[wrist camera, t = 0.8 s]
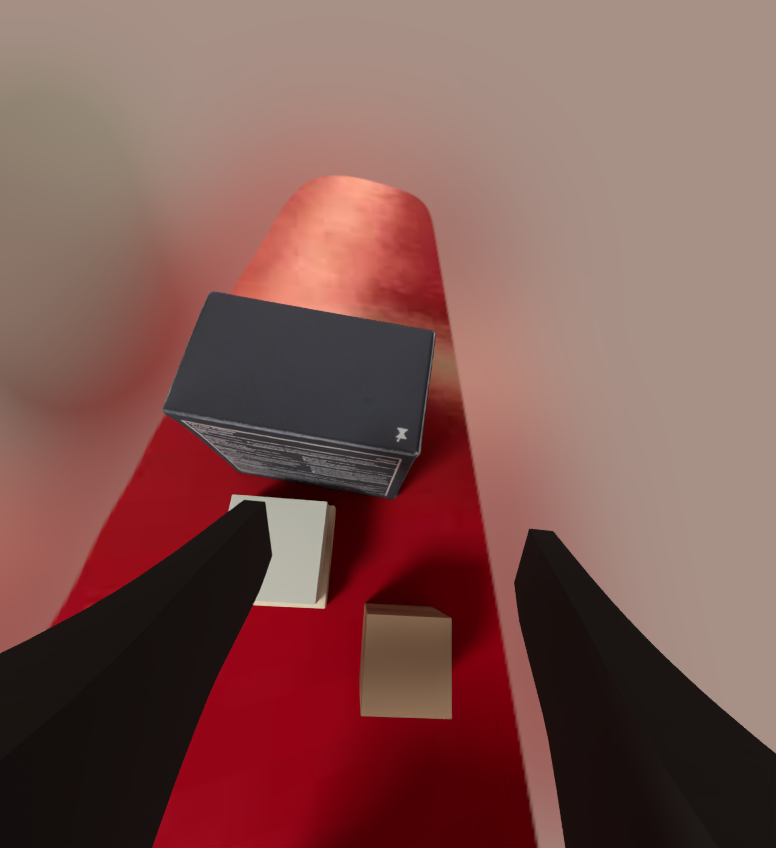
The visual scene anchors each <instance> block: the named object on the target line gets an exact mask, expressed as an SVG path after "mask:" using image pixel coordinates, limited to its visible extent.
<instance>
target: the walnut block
mask: <svg viewBox="0 0 776 848" xmlns="http://www.w3.org/2000/svg"><path fill="white" fill-rule="evenodd" d="M359 686H360V708H361V716H375V717H405V718H434V719H452V618H450V617H449V616H447V615H445V614H444V613H442V612H440V611H438V610H437V609H435V608H433V607H430V606H411V605H391V604H372V603H365V606H364V621H363V636H362V650H361V665H360V680H359Z"/></svg>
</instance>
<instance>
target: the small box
mask: <svg viewBox="0 0 776 848" xmlns="http://www.w3.org/2000/svg"><path fill="white" fill-rule="evenodd" d="M435 338H436V334H435V332H434V331H432V330H425V329H420V328H414V327H408V326H403V325H398V324H392V323H386V322H380V321H374V320H369V319H363V318H357V317H352V316H346V315H341V314H335V313H329V312H324V311H318V310H313V309H307V308H302V307H296V306H291V305H285V304H280V303H274V302H268V301H263V300H258V299H252V298H247V297H241V296H236V295H231V294H226V293H220V292H214V291H213V292H210V293H209V295H208V297H207V299H206V301H205V303H204V305H203V308H202V310H201V313H200V315H199V318H198V320H197V322H196V326H195V328H194V330H193V333H192V335H191V338H190V340H189V342H188V345H187V347H186V350H185V353H184V356H183V358H182V360H181V363H180V365H179V368H178V370H177V373H176V376H175V378H174V381H173V383H172V386H171V388H170V391H169V393H168V396H167V398H166V401H165V404H164V406H163V412H164V413H165V414H166V415H167V416H169V417H170V418H172V419H173V420H176V421H177V422H178V423H180V424H181V425H182V426H184V427H186V428H187V429H188V430H189V431H191V432H192V433H193V434H195V435H196V436H197V437H198V438H200V439H201V441H202V442H204V443H205V444H206V445H208V446H209V447H210V448H211V449H212V450H214V451H215V452H216V453H217V454H218V455H219V456H221V457H222V458H223V459H224V460H225V461H227V462H228V463H229V464H230V465H231V466H232V467H233V468H234V469H235V470H236V471H237V472H239V473H245V474H250V475H255V476H261V477H266V478H272V479H278V480H283V481H287V482H295V483H300V484H306V485H312V486H318V487H323V488H328V489H331V490H339V491H346V492H352V493H357V494H362V495H369V496H376V497H382V498H388V499H392V500H393V499H394V498H396V497H397V496H398V495H399V492H398V491H399V489H400V487H401V486H402V484H403V482H404V480H405V478H406V476H407V474H408V472H409V470H410V469H411V467H412V465H413V463H414V461H415V459H416V458H417V457H418V456H419V455H420V453H421V448H422V437H423V429H424V422H425V414H426V407H427V398H428V390H429V383H430V377H431V369H432V360H433V353H434V346H435Z"/></svg>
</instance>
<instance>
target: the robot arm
mask: <svg viewBox="0 0 776 848" xmlns="http://www.w3.org/2000/svg"><path fill="white" fill-rule="evenodd" d="M271 558H272V548H271V541H270V533H269V526H268V518H267V510H266V503H265V502H263V501H253V500H243V501H242V502H240V503H239V504H238V505H236V506H235V507H234V508H232V509H231V510H230V511H228V512H227V513H226V514H224V515H223V516H222V517H221V518H219V519H218V520H217V521H215V522H214V523H213V524H211V525H210V526H209V527H208V528H206V529H205V530H204V531H202V532H201V533H200V534H198V535H197V536H196V537H194V538H193V539H192V540H190V541H189V542H188V543H186V544H185V545H184V546H182V547H181V548H180V549H178V550H177V551H175V552H174V553H172V554H171V555H169V556H168V557H167V558H165V559H164V560H162V561H161V562H159V563H158V564H156V565H155V566H154V567H152V568H151V569H149V570H148V571H146V572H145V573H143V574H142V575H140V576H139V577H137V578H136V579H134V580H133V581H131V582H130V583H128V584H127V585H125V586H123V587H122V588H120V589H119V590H117V591H115V592H114V593H112V594H110V595H109V596H107V597H105V598H104V599H102V600H100V601H98V602H97V603H95V604H93V605H92V606H90V607H88V608H86V609H85V610H83V611H81V612H79V613H78V614H76V615H74V616H72V617H70V618H68V619H66V620H64V621H62V622H61V623H59V624H57V625H55V626H53V627H51V628H49V629H47V630H46V631H44V632H42V633H40V634H38V635H36V636H34V637H32V638H31V639H29V640H27V641H25V642H23V643H21V644H19V645H17V646H14V647H12V648H10V649H8V650H6V651H4V652H2V653H0V848H152V847H153V843H154V841H155V838H156V835H157V832H158V829H159V827H160V824H161V821H162V818H163V815H164V812H165V810H166V807H167V804H168V801H169V798H170V795H171V793H172V790H173V787H174V784H175V781H176V779H177V776H178V774H179V771H180V768H181V766H182V763H183V760H184V758H185V755H186V752H187V750H188V747H189V744H190V742H191V739H192V736H193V734H194V731H195V729H196V726H197V724H198V721H199V719H200V716H201V714H202V711H203V709H204V706H205V704H206V701H207V699H208V696H209V694H210V691H211V689H212V687H213V685H214V682H215V680H216V678H217V676H218V674H219V672H220V670H221V668H222V666H223V664H224V662H225V660H226V658H227V656H228V654H229V652H230V650H231V648H232V646H233V644H234V642H235V640H236V638H237V636H238V634H239V632H240V630H241V628H242V626H243V624H244V622H245V620H246V618H247V616H248V614H249V612H250V610H251V608H252V606H253V604H254V602H255V600H256V598H257V596H258V594H259V591H260V589H261V586H262V584H263V581H264V578H265V576H266V573H267V570H268V567H269V564H270V561H271ZM514 585H515V592H516V601H517V608H518V615H519V622H520V626H521V630H522V634H523V638H524V642H525V646H526V650H527V654H528V658H529V662H530V666H531V670H532V674H533V678H534V681H535V685H536V689H537V693H538V697H539V701H540V705H541V709H542V713H543V717H544V722H545V726H546V731H547V736H548V741H549V746H550V752H551V759H552V764H553V770H554V777H555V782H556V789H557V795H558V802H559V808H560V815H561V821H562V828H563V835H564V841H565V848H776V753H774V752H773V751H772V750H771V749H769V748H768V747H767V746H766V745H764V744H763V743H762V742H761V741H760V740H758V739H757V738H756V737H755V736H753V735H752V734H751V733H750V732H749V731H748V730H746V729H745V728H744V727H743V726H742V725H740V724H739V723H738V722H737V721H736V720H735V719H733V718H732V717H731V716H730V715H729V714H728V713H726V712H725V711H724V710H723V709H722V708H720V707H719V706H718V705H717V704H716V703H715V702H713V701H712V700H711V699H710V698H709V697H708V696H707V695H706V694H705V693H703V692H702V691H701V690H700V689H699V688H698V687H697V686H696V685H695V684H694V683H693V682H692V681H690V680H689V679H688V678H687V677H686V676H685V675H684V674H683V673H682V672H681V671H680V670H679V669H678V668H677V667H675V666H674V665H673V664H672V663H671V662H670V661H669V660H668V659H667V658H666V657H665V656H664V655H663V654H662V653H661V652H660V651H659V650H658V649H657V648H656V647H655V646H654V645H653V644H652V643H651V642H650V641H649V640H648V639H647V638H646V637H645V636H644V635H643V634H642V633H641V632H640V631H639V630H638V629H637V628H636V627H635V626H634V625H633V624H632V622H631V621H630V620H628V618H627V617H626V616H625V615H624V614H623V613H622V612H621V611H620V610H619V608H618V607H617V606H616V605H615V604H614V603H613V602H612V601H611V600H610V598H609V597H608V596H607V595H606V594H605V593H604V592H603V590H602V589H601V588H600V587H599V586H598V585H597V584H596V582H595V581H594V580H593V579H592V578H591V577H590V576H589V574H588V573H587V572H586V571H585V569H584V568H583V567H582V566H581V565H580V563H579V562H578V561H577V560H576V558H575V557H574V556H573V555H572V554H571V552H570V551H569V550H568V549H567V548H566V546H565V545H564V544H563V543H562V541H561V540H560V539H559V538H558V537H557V535H556V534H555V533H554V532H553V531H546V530H537V529H529V531H528V536H527V539H526V542H525V546H524V549H523V553H522V557H521V560H520V564H519V568H518V571H517V575H516V579H515V582H514Z"/></svg>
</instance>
